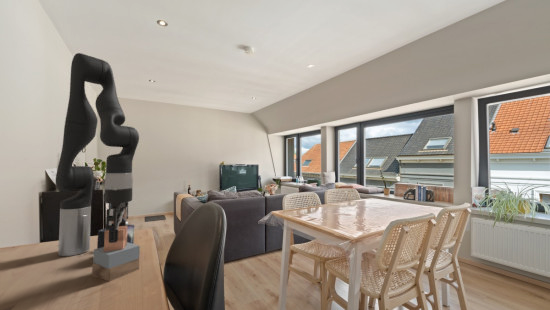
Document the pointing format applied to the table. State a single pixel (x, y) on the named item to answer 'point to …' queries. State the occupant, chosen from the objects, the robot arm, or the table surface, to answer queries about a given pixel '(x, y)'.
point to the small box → (129, 236)
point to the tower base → (114, 270)
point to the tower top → (116, 256)
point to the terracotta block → (120, 243)
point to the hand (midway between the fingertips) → (117, 238)
